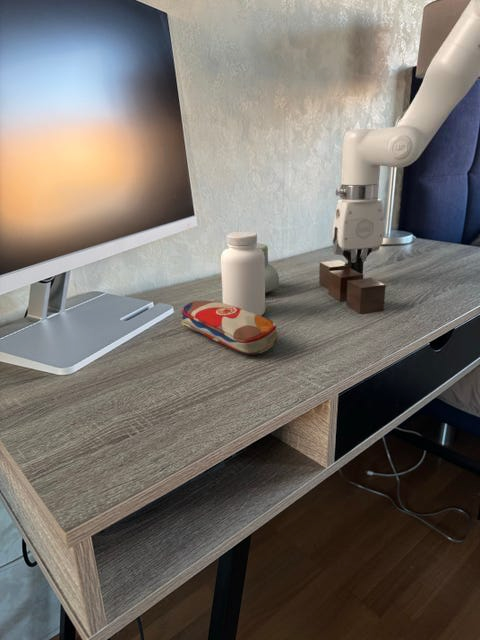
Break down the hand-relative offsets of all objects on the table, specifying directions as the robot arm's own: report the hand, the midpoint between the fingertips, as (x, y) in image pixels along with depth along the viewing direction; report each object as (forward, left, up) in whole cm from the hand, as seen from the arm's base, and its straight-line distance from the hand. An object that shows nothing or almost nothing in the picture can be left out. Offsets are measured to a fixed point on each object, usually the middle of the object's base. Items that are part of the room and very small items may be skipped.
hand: (354, 278), depth 99 cm
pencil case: (+35, +19, -1) cm, 40 cm away
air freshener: (+22, -3, -1) cm, 23 cm away
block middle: (+6, +8, -1) cm, 10 cm away
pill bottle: (+28, +9, -1) cm, 30 cm away
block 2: (+6, +15, -1) cm, 17 cm away
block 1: (+5, 0, -1) cm, 5 cm away
